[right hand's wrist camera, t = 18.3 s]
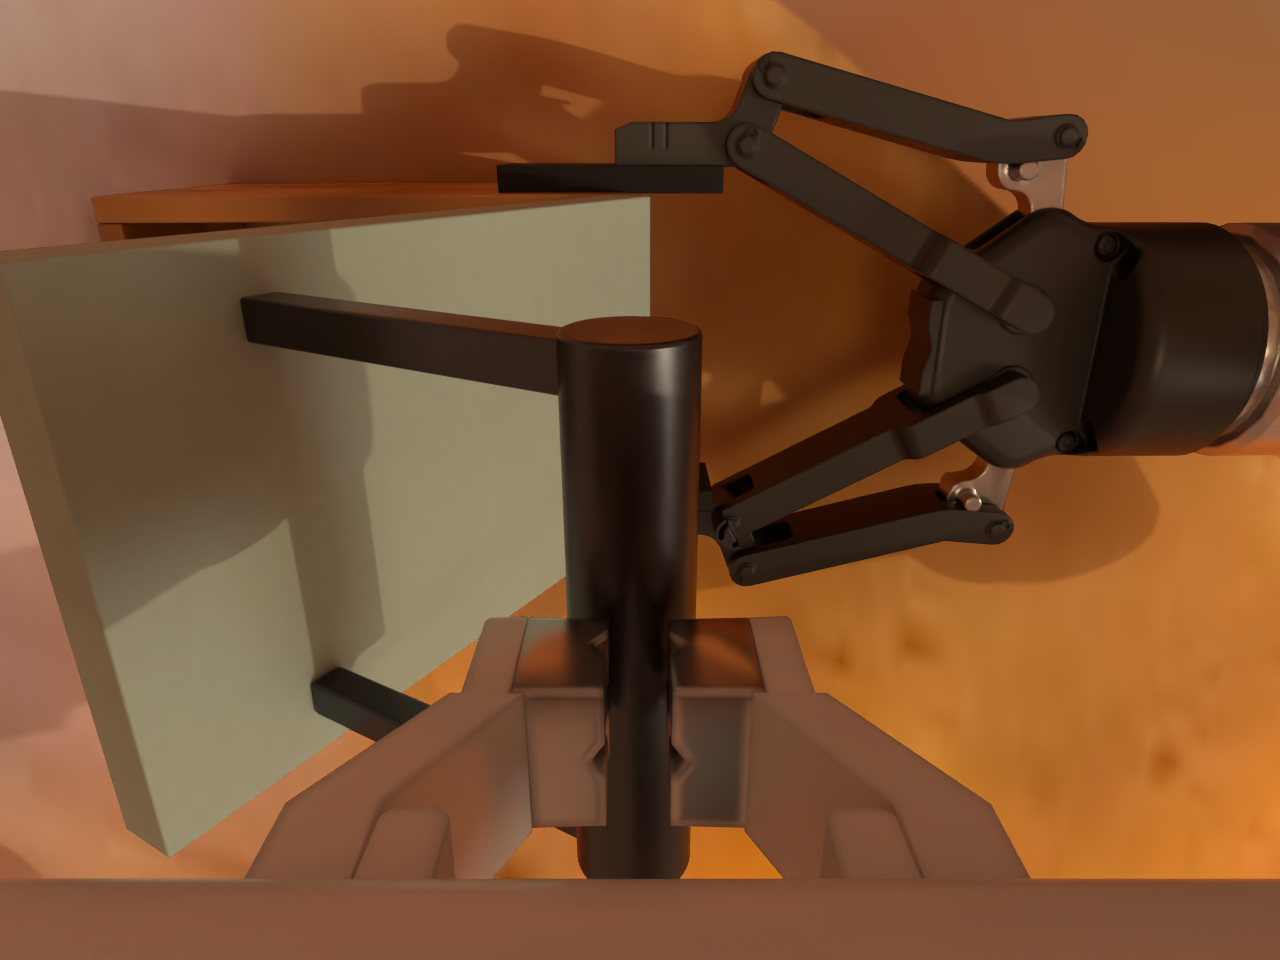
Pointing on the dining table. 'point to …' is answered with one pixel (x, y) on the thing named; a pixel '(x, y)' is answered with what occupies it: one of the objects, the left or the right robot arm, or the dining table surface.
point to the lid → (353, 485)
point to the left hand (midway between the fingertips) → (513, 343)
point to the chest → (290, 205)
